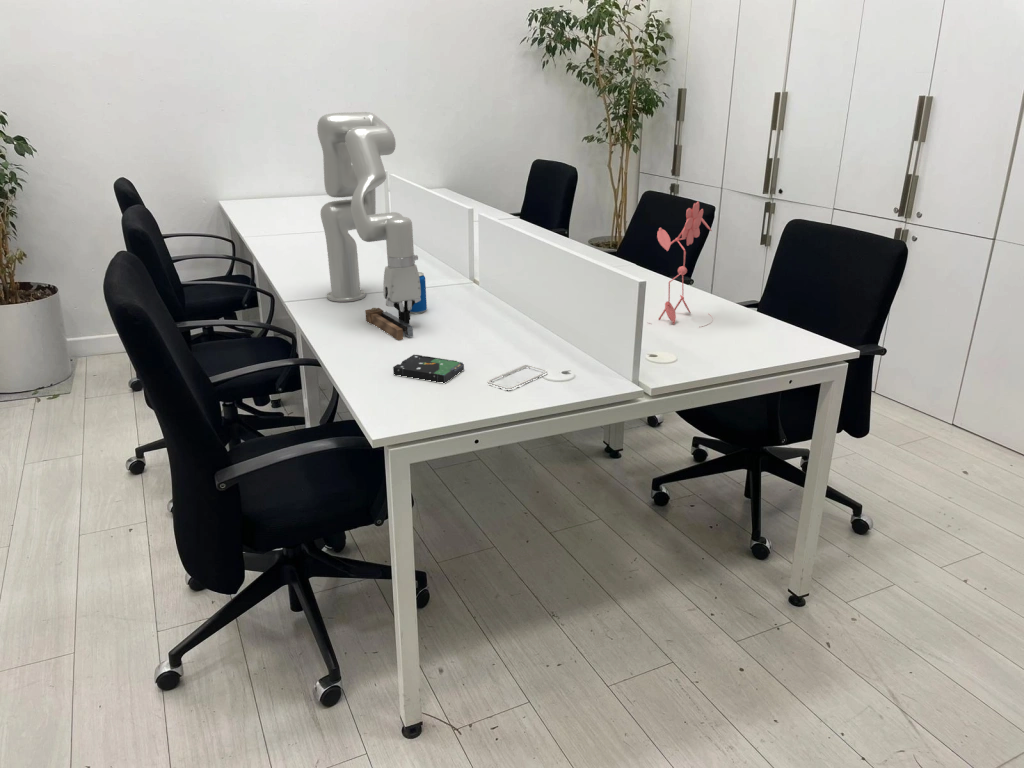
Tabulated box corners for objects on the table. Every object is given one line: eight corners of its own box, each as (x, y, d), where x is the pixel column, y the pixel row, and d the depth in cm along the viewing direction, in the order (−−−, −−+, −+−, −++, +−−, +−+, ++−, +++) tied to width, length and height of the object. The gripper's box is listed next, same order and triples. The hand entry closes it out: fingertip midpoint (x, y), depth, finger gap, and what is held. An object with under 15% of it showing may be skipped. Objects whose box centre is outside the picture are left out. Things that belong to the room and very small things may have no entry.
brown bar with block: (366, 321, 233) (365, 308, 232) (379, 318, 235) (378, 305, 234) (396, 340, 217) (395, 326, 215) (410, 337, 219) (410, 323, 217)
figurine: (642, 326, 227) (652, 205, 213) (681, 306, 246) (693, 194, 232) (690, 337, 218) (704, 212, 205) (727, 315, 237) (742, 200, 224)
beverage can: (402, 312, 241) (399, 275, 237) (413, 307, 246) (411, 270, 242) (419, 315, 238) (417, 277, 234) (430, 310, 244) (429, 272, 239)
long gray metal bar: (382, 321, 232) (381, 312, 231) (387, 320, 233) (386, 311, 232) (408, 337, 218) (407, 327, 217) (413, 336, 219) (412, 326, 218)
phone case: (509, 393, 182) (548, 375, 193) (509, 388, 182) (548, 370, 192) (486, 386, 186) (525, 368, 197) (485, 381, 186) (525, 363, 196)
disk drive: (393, 377, 192) (445, 385, 187) (392, 367, 191) (445, 374, 186) (414, 364, 201) (464, 371, 196) (413, 353, 200) (464, 360, 195)
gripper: (418, 255, 226) (421, 315, 233) (371, 262, 219) (375, 324, 226) (430, 260, 220) (433, 322, 227) (382, 267, 213) (386, 331, 220)
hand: (404, 323), depth 226 cm, fingers closed
